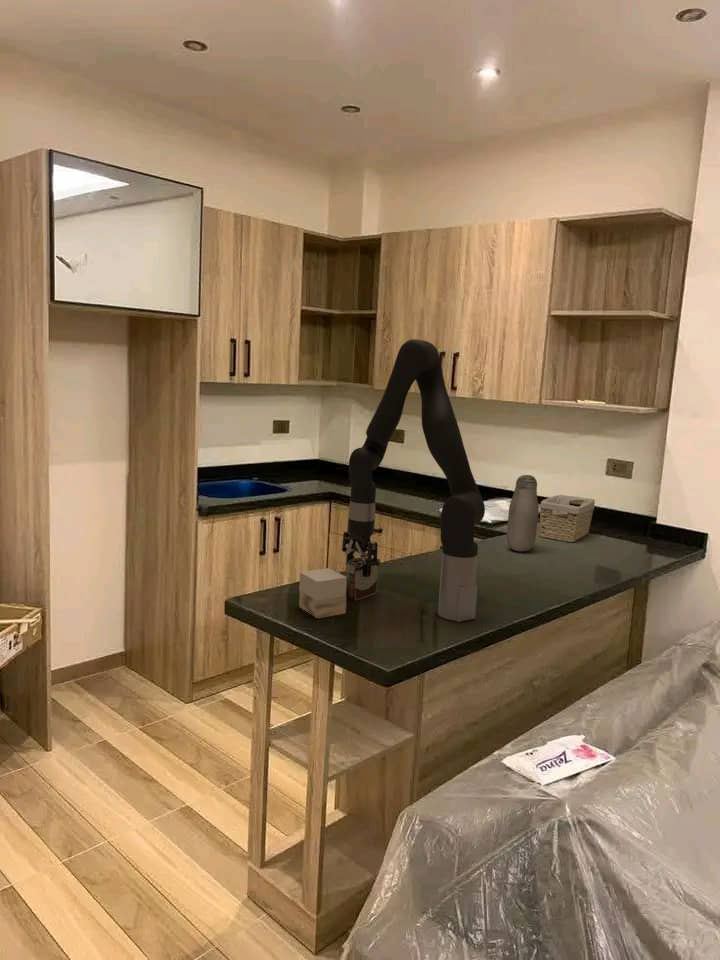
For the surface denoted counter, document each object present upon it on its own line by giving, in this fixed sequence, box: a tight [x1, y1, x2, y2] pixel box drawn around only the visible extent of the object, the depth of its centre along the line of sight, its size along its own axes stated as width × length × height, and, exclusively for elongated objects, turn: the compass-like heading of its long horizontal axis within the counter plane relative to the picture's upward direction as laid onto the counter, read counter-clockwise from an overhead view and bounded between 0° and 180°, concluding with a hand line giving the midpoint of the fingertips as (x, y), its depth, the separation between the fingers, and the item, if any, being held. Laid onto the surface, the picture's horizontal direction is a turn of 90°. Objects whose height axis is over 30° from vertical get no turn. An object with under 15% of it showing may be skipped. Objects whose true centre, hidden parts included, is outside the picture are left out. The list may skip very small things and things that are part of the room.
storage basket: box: [538, 494, 596, 543], centre depth 295 cm, size 24×16×15 cm
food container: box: [345, 557, 382, 602], centre depth 209 cm, size 12×6×10 cm, turn 141°
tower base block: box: [298, 590, 347, 619], centre depth 195 cm, size 9×9×5 cm
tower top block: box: [298, 567, 348, 601], centre depth 194 cm, size 9×9×5 cm
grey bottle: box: [506, 474, 540, 553], centre depth 266 cm, size 10×10×28 cm
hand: (357, 572), depth 209 cm, fingers open, 8 cm apart
